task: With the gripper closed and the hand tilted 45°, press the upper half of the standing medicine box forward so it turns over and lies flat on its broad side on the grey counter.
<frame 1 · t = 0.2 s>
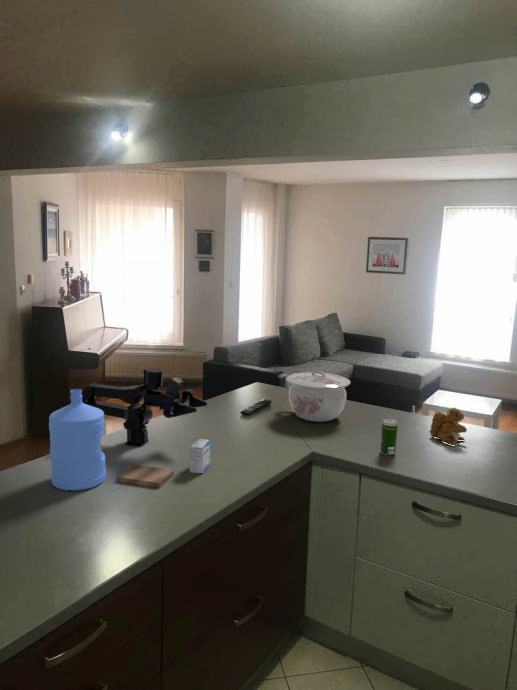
hand: (201, 407, 180), 16 cm above the worktop, tool horizontal, fingers open, 9 cm apart
beer can: (387, 453, 187), on the worktop
medicine box: (199, 469, 170), on the worktop
walnut cutting board: (145, 477, 161), on the worktop
water jug: (79, 481, 158), on the worktop
chamber pot: (316, 417, 226), on the worktop
stuffed squirrel: (445, 440, 202), on the worktop
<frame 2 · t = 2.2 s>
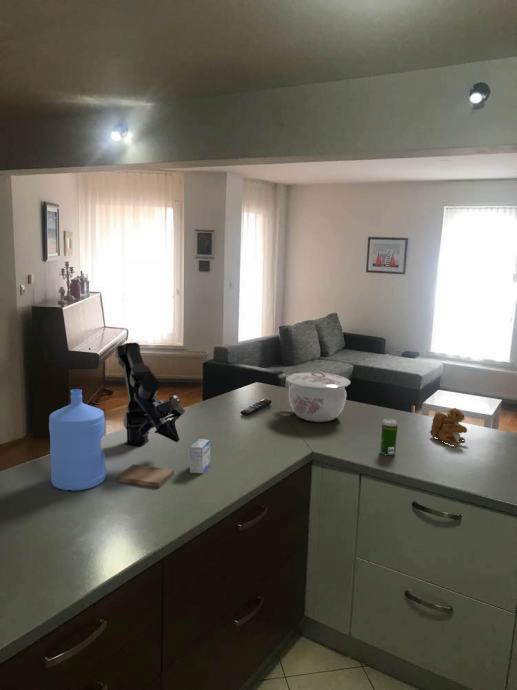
hand: (178, 441, 171), 8 cm above the worktop, tool tilted 45°, fingers closed
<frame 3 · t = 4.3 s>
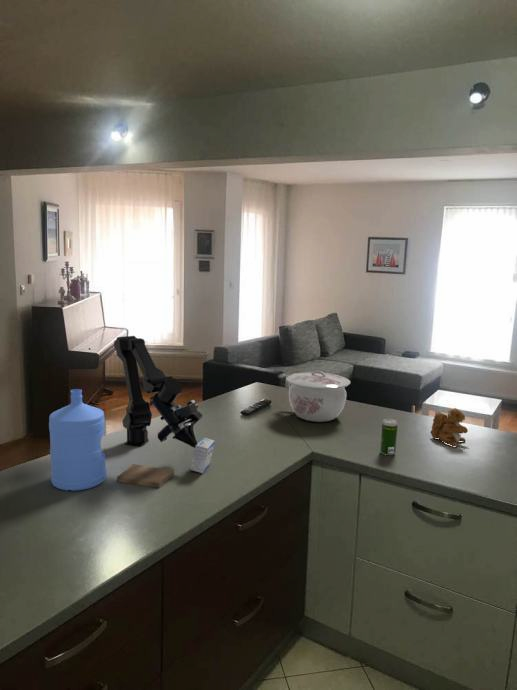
hand: (196, 446, 168), 7 cm above the worktop, tool tilted 45°, fingers closed
medicine box: (199, 467, 169), on the worktop, touching gripper
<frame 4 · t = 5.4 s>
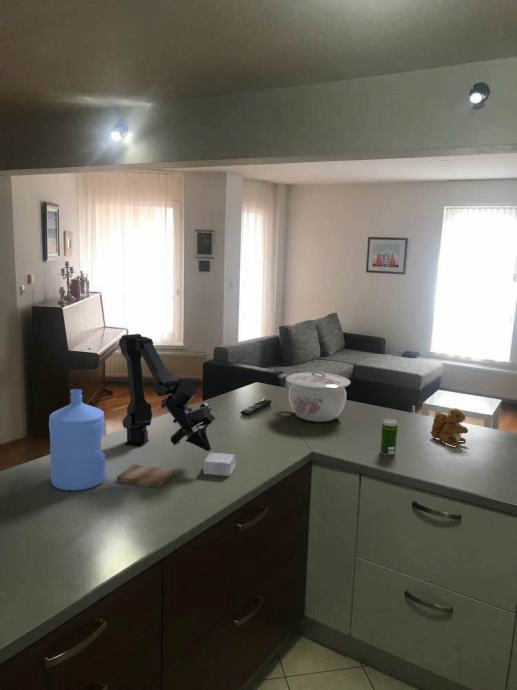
hand: (209, 450, 166), 7 cm above the worktop, tool tilted 45°, fingers closed
medicine box: (206, 462, 169), point 2 cm above the worktop
everything else where it was.
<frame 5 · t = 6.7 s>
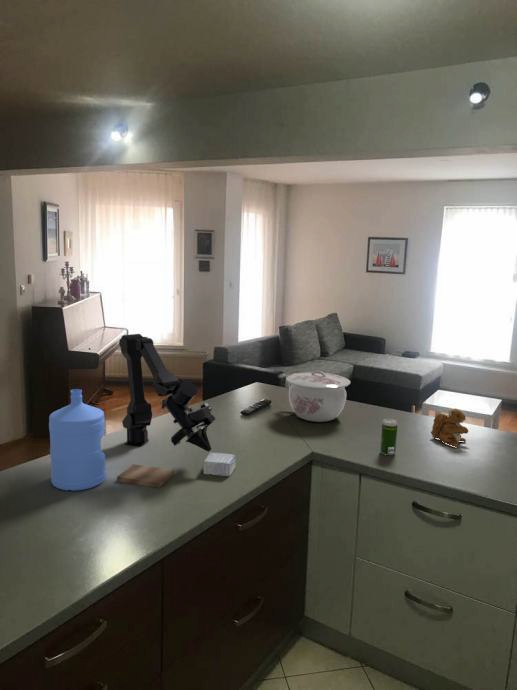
hand: (210, 450, 166), 7 cm above the worktop, tool tilted 45°, fingers closed
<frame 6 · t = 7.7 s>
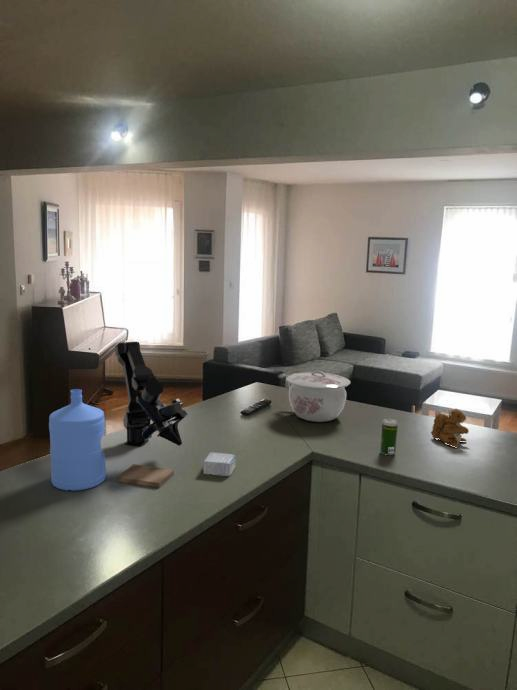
hand: (180, 444, 171), 7 cm above the worktop, tool tilted 45°, fingers closed
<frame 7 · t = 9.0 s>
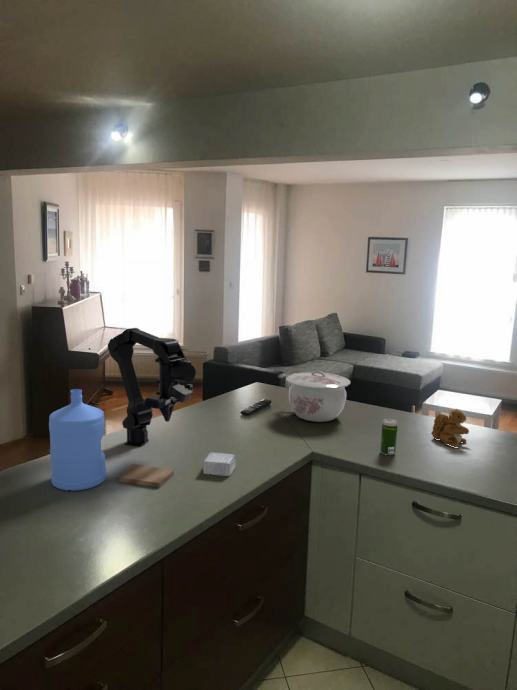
hand: (167, 421, 179), 12 cm above the worktop, tool pointing down, fingers closed
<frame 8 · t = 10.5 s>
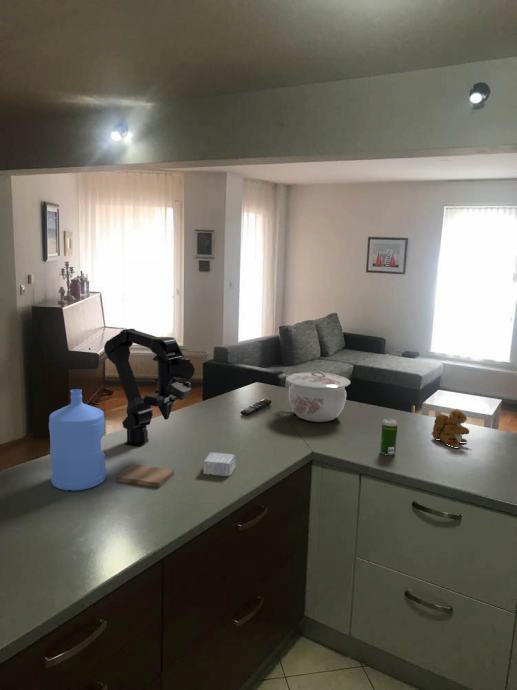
hand: (166, 419, 180), 12 cm above the worktop, tool pointing down, fingers closed
at the end: medicine box tilted 90°; medicine box inside the target area (2.5 cm from its centre), point 2.2 cm above the worktop; the gripper is holding nothing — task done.
